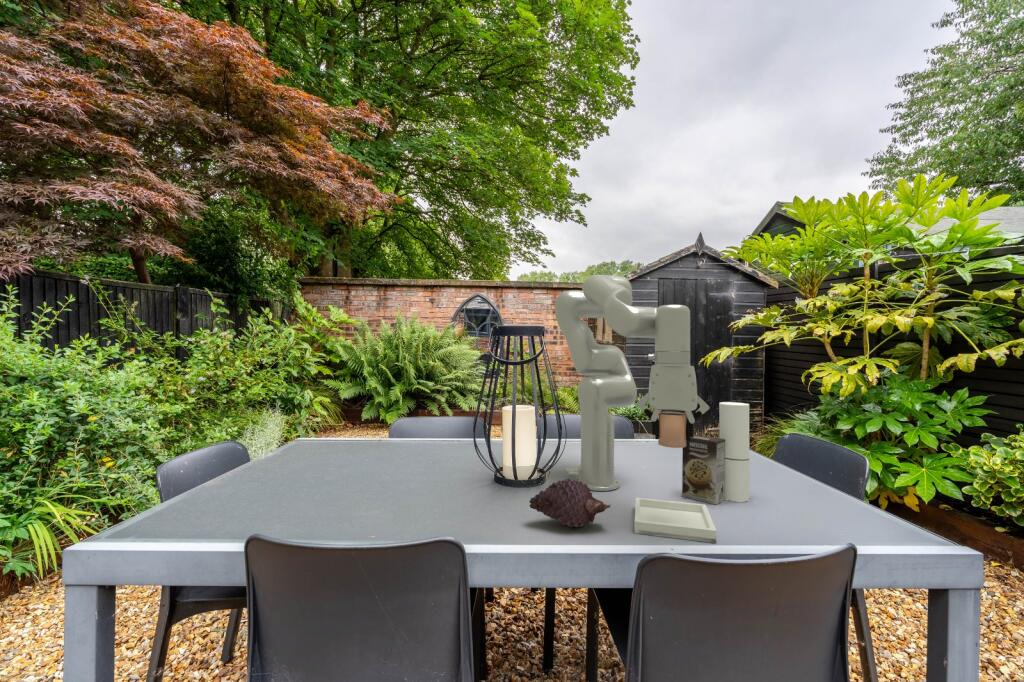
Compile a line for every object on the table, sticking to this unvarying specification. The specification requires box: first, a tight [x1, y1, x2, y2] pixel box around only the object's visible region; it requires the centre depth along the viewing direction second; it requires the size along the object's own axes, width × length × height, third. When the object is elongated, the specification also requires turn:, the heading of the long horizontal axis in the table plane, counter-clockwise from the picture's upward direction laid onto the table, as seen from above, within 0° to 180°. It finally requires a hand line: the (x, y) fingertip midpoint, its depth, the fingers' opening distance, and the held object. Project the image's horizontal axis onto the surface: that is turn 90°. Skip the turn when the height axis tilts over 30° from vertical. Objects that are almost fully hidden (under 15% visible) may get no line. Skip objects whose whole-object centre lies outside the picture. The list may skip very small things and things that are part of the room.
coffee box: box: [681, 433, 725, 506], centre depth 117 cm, size 9×6×16 cm
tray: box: [634, 497, 717, 544], centre depth 99 cm, size 16×16×2 cm
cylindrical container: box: [718, 401, 750, 503], centre depth 118 cm, size 7×7×25 cm
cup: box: [657, 411, 688, 449], centre depth 100 cm, size 6×6×7 cm
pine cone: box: [528, 478, 611, 528], centre depth 98 cm, size 18×10×10 cm, turn 83°
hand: (672, 438), depth 100 cm, fingers closed on cup, 6 cm apart
